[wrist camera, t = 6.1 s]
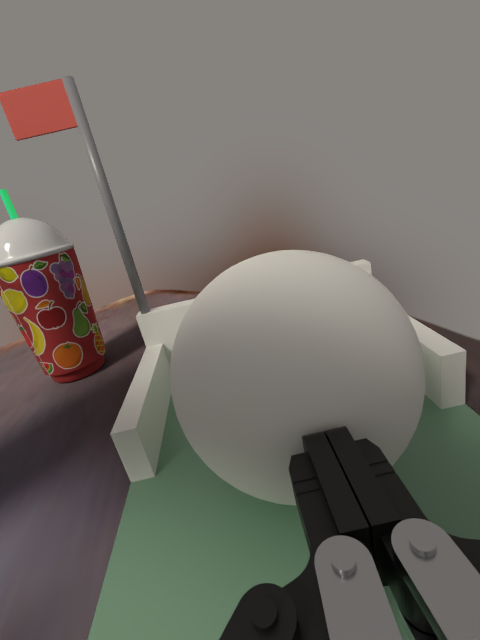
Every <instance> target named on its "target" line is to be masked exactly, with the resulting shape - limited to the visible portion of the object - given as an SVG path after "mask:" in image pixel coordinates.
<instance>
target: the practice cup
mask: <svg viewBox="0 0 480 640" xmlns="http://www.w3.org/2000/svg"><path fill="white" fill-rule="evenodd" d="M0 102H1V104H2V107H3V109H4V112H5V114H6V117H7V119H8V122H9V124H10V127H11V129H12V132H13V134H14V137H15V139H16V140H18V141H19V140H23V139H28V138H32V137H36V136H40V135H45V134H49V133H54V132H58V131H62V130H66V129H71V128H75V127H78V129H79V132H80V135H81V138H82V141H83V144H84V147H85V150H86V153H87V155H88V159H89V161H90V164H91V167H92V170H93V173H94V176H95V179H96V182H97V185H98V188H99V191H100V194H101V197H102V200H103V203H104V206H105V209H106V211H107V214H108V217H109V220H110V223H111V226H112V229H113V232H114V235H115V238H116V241H117V244H118V247H119V250H120V253H121V256H122V259H123V261H124V264H125V267H126V270H127V273H128V276H129V279H130V282H131V285H132V288H133V291H134V294H135V297H136V300H137V303H138V306H139V309H140V311H139V312H138V314H137V316H136V319H137V322H138V325H139V328H140V331H141V334H142V337H143V340H144V342H145V345H146V349H145V352H144V354H143V357H142V359H141V361H140V364H139V366H138V369H137V371H136V373H135V376H134V378H133V381H132V383H131V385H130V388H129V390H128V393H127V395H126V397H125V400H124V402H123V405H122V407H121V409H120V412H119V414H118V416H117V419H116V421H115V424H114V426H113V428H112V431H111V433H110V435H111V437H112V440H113V442H114V444H115V447H116V449H117V451H118V454H119V456H120V458H121V461H122V463H123V465H124V468H125V470H126V472H127V475H128V477H129V479H130V482H131V484H130V488H129V491H128V495H127V499H126V502H125V506H124V510H123V513H122V517H121V521H120V524H119V528H118V532H117V535H116V539H115V542H114V546H113V550H112V553H111V557H110V561H109V564H108V568H107V572H106V575H105V579H104V583H103V586H102V590H101V594H100V597H99V601H98V604H97V608H96V612H95V615H94V619H93V623H92V626H91V630H90V634H89V637H88V640H219V639H220V637H221V635H222V633H223V631H224V629H225V627H226V625H227V624H228V622H229V620H230V618H231V616H232V614H233V612H234V610H235V609H236V607H237V605H238V603H239V601H240V599H241V598H242V596H243V595H244V594H245V593H246V592H247V591H248V590H249V589H250V588H252V587H254V586H255V585H258V584H262V583H272V584H276V585H278V586H280V587H284V586H285V585H287V584H288V583H290V582H291V581H293V580H294V579H295V578H297V577H298V576H299V575H300V574H301V573H302V572H303V571H304V569H305V568H306V566H307V564H308V561H309V558H310V552H309V549H308V545H307V541H306V538H305V534H304V530H303V527H302V523H301V520H300V516H299V512H298V509H297V506H295V505H284V504H277V503H273V502H269V501H265V500H261V499H258V498H256V497H253V496H251V495H249V494H246V493H244V492H242V491H240V490H238V489H237V488H235V487H233V486H232V485H230V484H229V483H227V482H226V481H224V480H223V479H221V478H220V477H219V476H218V475H217V474H215V473H214V472H213V471H212V470H211V469H210V468H209V467H208V466H207V465H206V464H205V463H204V462H203V460H202V459H201V458H200V457H199V456H198V455H197V453H196V452H195V451H194V449H193V448H192V446H191V445H190V443H189V441H188V440H187V438H186V436H185V434H184V432H183V430H182V428H181V425H180V423H179V421H178V418H177V416H176V412H175V408H174V405H173V400H172V394H171V386H170V365H171V354H172V350H173V345H174V341H175V338H176V334H177V332H178V329H179V327H180V324H181V322H182V320H183V318H184V316H185V314H186V312H187V310H188V309H189V307H190V306H191V304H192V303H193V301H194V300H195V299H196V298H195V299H191V300H186V301H182V302H178V303H174V304H169V305H165V306H161V307H156V308H152V309H149V306H148V303H147V300H146V297H145V294H144V291H143V288H142V285H141V282H140V279H139V276H138V273H137V270H136V267H135V264H134V261H133V258H132V255H131V252H130V249H129V245H128V243H127V239H126V237H125V233H124V230H123V227H122V224H121V221H120V218H119V215H118V212H117V209H116V206H115V203H114V200H113V197H112V194H111V191H110V188H109V185H108V182H107V179H106V175H105V172H104V169H103V166H102V164H101V161H100V157H99V154H98V151H97V148H96V145H95V142H94V139H93V136H92V133H91V130H90V127H89V124H88V121H87V118H86V115H85V112H84V109H83V105H82V103H81V100H80V96H79V93H78V90H77V87H76V84H75V81H74V78H73V77H72V76H64V77H62V78H61V79H57V80H53V81H49V82H44V83H40V84H36V85H31V86H27V87H23V88H18V89H14V90H9V91H5V92H1V93H0ZM350 263H352V264H354V265H356V266H358V267H360V268H361V269H363V270H364V271H366V272H367V273H369V274H370V275H371V263H370V262H369V261H366V260H364V259H362V260H358V261H354V262H350ZM408 317H409V319H410V321H411V323H412V325H413V327H414V329H415V331H416V334H417V337H418V340H419V342H420V345H421V348H422V354H423V360H424V366H425V396H424V402H423V408H422V413H421V416H420V419H419V422H418V425H417V428H416V430H415V432H414V434H413V436H412V438H411V440H410V442H409V444H408V446H407V448H406V449H405V451H404V452H403V453H402V455H401V456H400V457H399V459H398V460H397V461H396V463H395V464H394V465H393V466H392V467H393V469H394V470H395V473H396V474H397V475H398V476H399V478H400V479H401V481H402V482H403V484H404V485H405V487H406V488H407V490H408V491H409V493H410V494H411V496H412V497H413V499H414V500H415V502H416V503H417V505H418V506H419V508H420V509H421V511H422V512H423V513H424V515H425V516H426V517H427V519H428V520H429V521H430V522H432V523H434V524H436V525H437V526H439V527H440V528H442V529H443V530H444V531H445V532H446V533H448V534H451V535H453V536H457V537H460V538H467V539H477V540H480V416H479V415H478V414H477V413H476V412H475V411H473V410H472V409H471V408H470V407H468V406H467V405H466V404H465V386H466V350H464V349H463V348H461V347H459V346H458V345H456V344H454V343H453V342H451V341H449V340H448V339H446V338H444V337H443V336H441V335H439V334H438V333H436V332H434V331H433V330H431V329H429V328H428V327H426V326H425V325H423V324H421V323H420V322H418V321H416V320H415V319H413V318H411V317H410V316H408ZM383 588H384V591H385V593H386V596H387V599H388V601H389V604H390V607H391V610H392V612H393V615H394V618H395V621H396V623H397V626H398V629H399V632H400V634H401V637H402V640H409V638H408V636H407V634H406V632H405V630H404V628H403V626H402V624H401V622H400V620H399V617H398V613H397V603H396V600H395V598H394V596H393V593H392V591H391V589H390V587H389V586H384V587H383Z"/></svg>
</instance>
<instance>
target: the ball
mask: <svg viewBox="0 0 480 640" xmlns="http://www.w3.org/2000/svg"><path fill="white" fill-rule="evenodd" d="M170 386H171V394H172V400H173V405H174V408H175V412H176V416H177V418H178V421H179V423H180V425H181V428H182V430H183V432H184V434H185V436H186V438H187V440H188V441H189V443H190V445H191V446H192V448H193V449H194V451H195V452H196V453H197V455H198V456H199V457H200V458H201V459H202V460H203V462H204V463H205V464H206V465H207V466H208V467H209V468H210V469H211V470H212V471H213V472H214V473H215V474H217V475H218V476H219V477H220V478H221V479H223V480H224V481H226V482H227V483H229V484H230V485H232V486H233V487H235V488H237V489H238V490H240V491H242V492H244V493H246V494H249V495H251V496H253V497H256V498H258V499H261V500H265V501H269V502H273V503H277V504H284V505H295V506H297V505H296V501H295V497H294V492H293V487H292V483H291V478H290V473H289V464H290V460H291V455H296V454H300V453H304V447H303V442H302V436H304V435H309V434H313V433H317V432H322V431H323V432H324V431H326V430H330V429H334V428H338V427H343V426H346V427H347V429H348V430H349V432H350V434H351V435H352V437H353V439H354V440H360V439H364V438H367V439H368V440H369V441H371V442H372V443H374V444H375V445H377V446H378V447H379V448H380V449H381V451H382V452H383V454H384V455H385V457H386V458H387V460H388V462H389V463H390V464H391V466H393V465H394V464H395V463H396V461H397V460H398V459H399V457H400V456H401V455H402V453H403V452H404V451H405V449H406V448H407V446H408V444H409V442H410V440H411V438H412V436H413V434H414V432H415V430H416V428H417V425H418V422H419V419H420V416H421V413H422V408H423V402H424V396H425V366H424V360H423V354H422V348H421V345H420V342H419V340H418V337H417V334H416V331H415V329H414V327H413V325H412V323H411V321H410V319H409V317H408V315H407V313H406V312H405V310H404V309H403V307H402V306H401V305H400V304H399V302H398V301H397V300H396V298H395V297H394V296H393V295H392V294H391V292H390V291H389V290H388V289H387V288H386V287H385V286H384V285H383V284H381V283H380V282H379V281H378V280H377V279H376V278H374V277H373V276H372V275H370V274H369V273H367V272H366V271H364V270H363V269H361V268H360V267H358V266H356V265H354V264H352V263H350V262H348V261H345V260H343V259H340V258H337V257H334V256H331V255H329V254H324V253H319V252H313V251H304V250H282V251H276V252H269V253H265V254H262V255H258V256H255V257H252V258H249V259H247V260H244V261H242V262H240V263H238V264H236V265H234V266H232V267H231V268H229V269H227V270H226V271H224V272H223V273H221V274H220V275H219V276H217V277H216V278H215V279H214V280H213V281H212V282H210V283H209V284H208V285H207V286H206V287H205V288H204V289H203V290H202V291H201V292H200V294H199V295H198V296H197V297H196V299H195V300H194V301H193V303H192V304H191V306H190V307H189V309H188V310H187V312H186V314H185V316H184V318H183V320H182V322H181V324H180V327H179V329H178V332H177V334H176V338H175V341H174V345H173V350H172V354H171V365H170Z"/></svg>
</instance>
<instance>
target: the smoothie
mask: <svg viewBox="0 0 480 640" xmlns="http://www.w3.org/2000/svg"><path fill="white" fill-rule="evenodd" d="M0 195H1V198H2V200H3V202H4V204H5V206H6V209H7V211H8V214H9V216H10V218H11V220H8V221H6V222H4V223H2V224H1V225H0V296H1V298H2V299H3V301H4V303H5V305H6V306H7V308H8V310H9V312H10V313H11V315H12V317H13V319H14V320H15V322H16V324H17V326H18V327H19V329H20V331H21V333H22V334H23V336H24V338H25V340H26V341H27V343H28V345H29V347H30V348H31V350H32V352H33V354H34V356H35V357H36V359H37V361H38V363H39V364H40V366H41V368H42V370H43V371H44V373H45V375H49V376H51V377H52V378H53V380H54V381H55V382H58V383H68V382H72V381H76V380H79V379H82V378H84V377H86V376H89V375H91V374H92V373H94V372H96V371H97V370H98V369H99V368H100V367H101V366H102V365H103V364H104V362H105V358H104V353H105V352H106V348H105V344H104V341H103V338H102V335H101V332H100V329H99V325H98V322H97V319H96V316H95V313H94V310H93V307H92V303H91V300H90V297H89V294H88V291H87V288H86V285H85V281H84V278H83V275H82V272H81V269H80V265H79V262H78V259H77V256H76V253H75V250H74V244H73V243H69V242H68V241H67V239H66V238H65V237H64V236H63V235H62V234H61V233H60V232H59V231H58V230H57V229H55V228H54V227H53V226H51V225H49V224H48V223H45V222H43V221H40V220H36V219H31V218H18V216H17V214H16V211H15V209H14V207H13V204H12V202H11V200H10V198H9V195H8V193H7V191H6V189H2V190H0Z"/></svg>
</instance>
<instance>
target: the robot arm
mask: <svg viewBox="0 0 480 640" xmlns="http://www.w3.org/2000/svg"><path fill="white" fill-rule="evenodd" d="M302 442H303V447H304V453H300V454H296V455H291V460H290V464H289V473H290V478H291V483H292V487H293V492H294V497H295V501H296V505H297V509H298V512H299V516H300V520H301V523H302V527H303V530H304V534H305V538H306V541H307V545H308V549H309V552H310V558H309V561H308V564H307V566H306V568H305V569H304V571H303V572H302V573H301V574H300V575H299V576H298V577H297V578H295V579H294V580H293V581H291V582H290V583H288V584H287V585H285V586H284V587H280V586H278V585H276V584H272V583H262V584H258V585H255V586H254V587H252V588H250V589H249V590H248V591H247V592H246V593H245V594H244V595H243V596H242V598H241V599H240V601H239V603H238V605H237V607H236V609H235V610H234V612H233V614H232V616H231V618H230V620H229V622H228V624H227V625H226V627H225V629H224V631H223V633H222V635H221V637H220V639H219V640H402V637H401V634H400V632H399V629H398V626H397V623H396V621H395V618H394V615H393V612H392V610H391V607H390V604H389V601H388V599H387V596H386V593H385V591H384V588H383V587H384V586H389V587H390V589H391V591H392V593H393V596H394V598H395V600H396V603H397V613H398V617H399V620H400V622H401V624H402V626H403V628H404V630H405V632H406V634H407V636H408V638H409V640H480V540H477V539H467V538H460V537H457V536H453V535H451V534H448V533H446V532H445V531H444V530H443V529H442V528H440V527H439V526H437V525H436V524H434V523H432V522H430V521H429V520H428V519H427V517H426V516H425V515H424V513H423V512H422V511H421V509H420V508H419V506H418V505H417V503H416V502H415V500H414V499H413V497H412V496H411V494H410V493H409V491H408V490H407V488H406V487H405V485H404V484H403V482H402V481H401V479H400V478H399V476H398V475H397V474H396V473H395V470H394V469H393V467H392V466H391V464H390V463H389V462H388V460H387V458H386V457H385V455H384V454H383V452H382V451H381V449H380V448H379V447H378V446H377V445H375V444H374V443H372V442H371V441H369V440H368V439H367V438H364V439H360V440H354V439H353V437H352V435H351V434H350V432H349V430H348V429H347V427H346V426H343V427H338V428H334V429H330V430H326V431H324V432H323V431H322V432H317V433H313V434H309V435H304V436H302Z"/></svg>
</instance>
